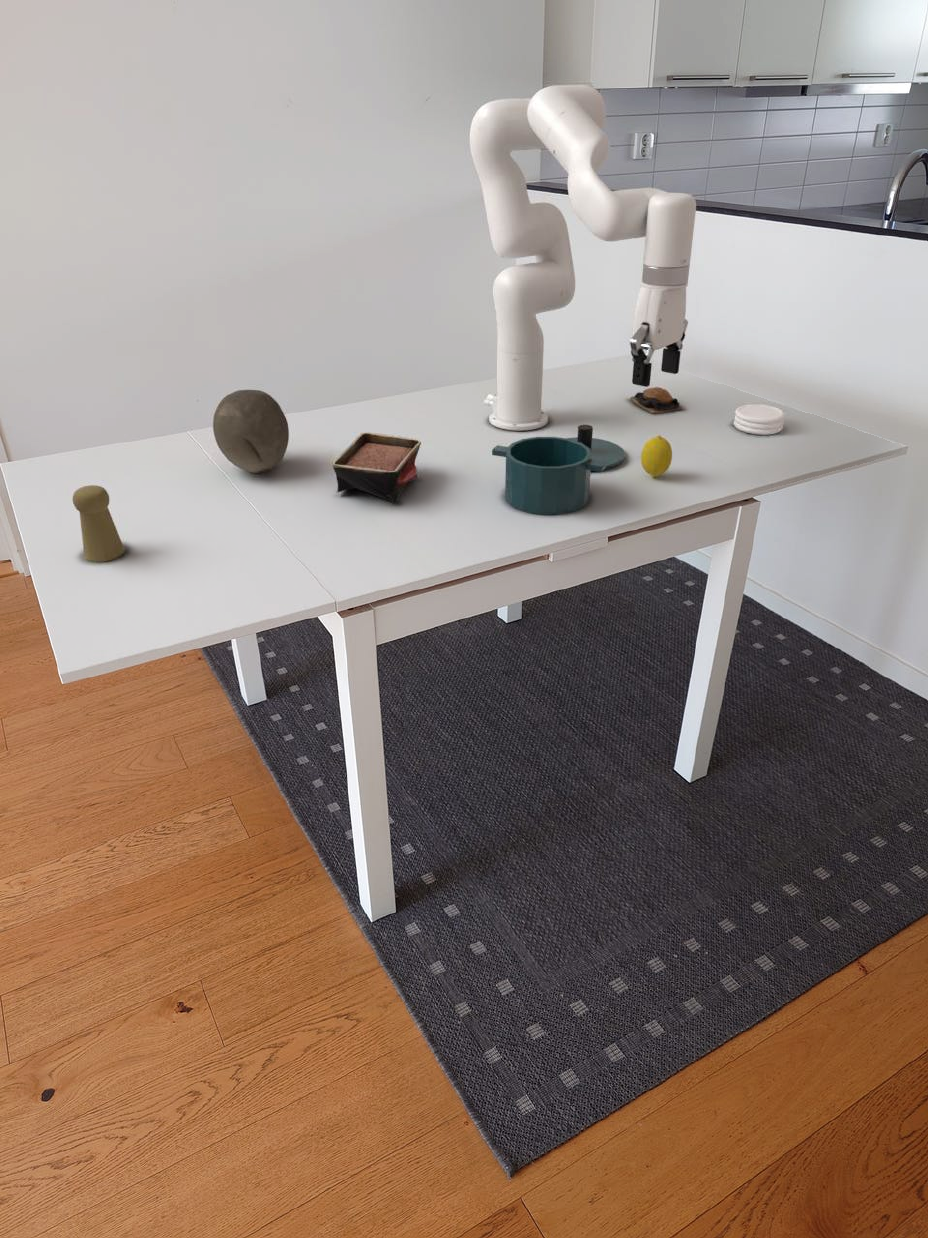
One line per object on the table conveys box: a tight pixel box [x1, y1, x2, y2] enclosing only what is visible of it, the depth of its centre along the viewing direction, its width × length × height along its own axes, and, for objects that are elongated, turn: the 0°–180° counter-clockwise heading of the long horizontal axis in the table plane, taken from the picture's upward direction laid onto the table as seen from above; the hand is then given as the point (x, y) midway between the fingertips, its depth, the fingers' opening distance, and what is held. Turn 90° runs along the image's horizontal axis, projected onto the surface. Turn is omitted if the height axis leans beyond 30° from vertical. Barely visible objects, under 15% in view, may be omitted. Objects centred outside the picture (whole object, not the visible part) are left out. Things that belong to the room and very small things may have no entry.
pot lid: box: [565, 424, 626, 469], centre depth 171 cm, size 16×16×6 cm
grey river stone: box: [212, 389, 290, 474], centre depth 165 cm, size 14×14×15 cm
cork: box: [72, 484, 126, 563], centre depth 137 cm, size 6×6×11 cm
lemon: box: [640, 435, 673, 478], centre depth 162 cm, size 6×6×8 cm
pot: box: [491, 436, 607, 516], centre depth 155 cm, size 15×20×8 cm
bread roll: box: [630, 386, 683, 415], centre depth 198 cm, size 11×8×4 cm
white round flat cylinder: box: [733, 403, 786, 436], centre depth 185 cm, size 10×10×4 cm
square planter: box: [332, 432, 422, 505], centre depth 159 cm, size 14×18×10 cm
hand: (655, 378), depth 156 cm, fingers open, 9 cm apart
